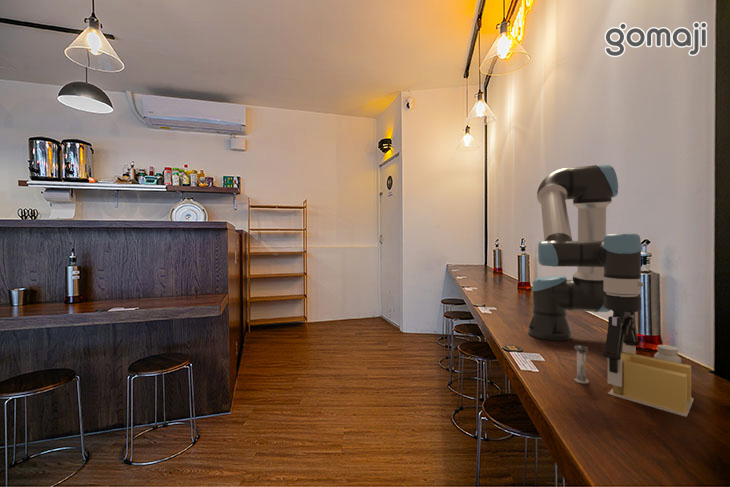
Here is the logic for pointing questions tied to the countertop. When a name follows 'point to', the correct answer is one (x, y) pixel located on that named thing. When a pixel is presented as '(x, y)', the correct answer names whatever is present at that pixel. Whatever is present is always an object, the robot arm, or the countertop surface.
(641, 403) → the felt mat
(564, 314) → the robot arm
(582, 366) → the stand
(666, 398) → the c link
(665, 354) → the pill bottle
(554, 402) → the countertop surface
